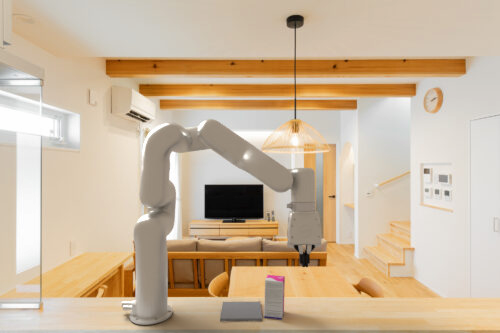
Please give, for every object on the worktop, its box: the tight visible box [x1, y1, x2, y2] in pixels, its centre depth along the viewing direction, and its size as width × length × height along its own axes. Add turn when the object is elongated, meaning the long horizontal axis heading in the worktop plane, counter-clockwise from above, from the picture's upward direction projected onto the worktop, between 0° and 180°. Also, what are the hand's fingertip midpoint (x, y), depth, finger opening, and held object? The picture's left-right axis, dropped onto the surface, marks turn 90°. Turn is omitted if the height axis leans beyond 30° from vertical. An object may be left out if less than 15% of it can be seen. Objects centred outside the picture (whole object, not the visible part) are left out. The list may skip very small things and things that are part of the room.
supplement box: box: [263, 274, 286, 321], centre depth 97 cm, size 6×6×12 cm
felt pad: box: [219, 301, 263, 322], centre depth 98 cm, size 12×12×1 cm
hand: (304, 265), depth 97 cm, fingers closed
